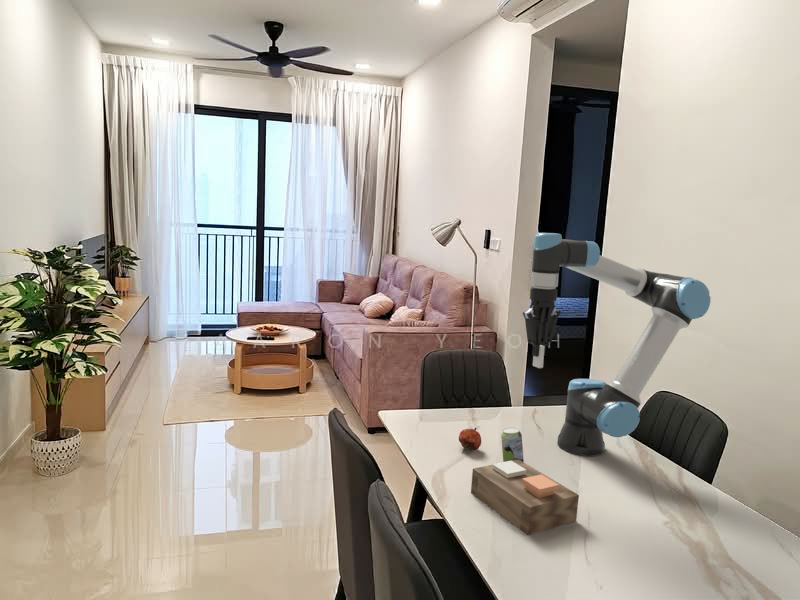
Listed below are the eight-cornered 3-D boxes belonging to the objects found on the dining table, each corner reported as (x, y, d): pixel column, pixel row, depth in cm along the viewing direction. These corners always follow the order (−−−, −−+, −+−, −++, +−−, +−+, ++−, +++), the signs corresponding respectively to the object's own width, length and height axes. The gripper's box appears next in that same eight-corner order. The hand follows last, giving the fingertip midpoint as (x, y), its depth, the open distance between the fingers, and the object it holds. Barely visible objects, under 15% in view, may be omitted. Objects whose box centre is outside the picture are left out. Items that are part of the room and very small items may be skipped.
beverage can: (523, 473, 177) (526, 435, 175) (498, 470, 179) (501, 432, 177) (523, 465, 183) (526, 427, 182) (499, 462, 185) (502, 424, 183)
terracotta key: (538, 503, 156) (541, 474, 155) (556, 514, 151) (559, 484, 150) (519, 508, 153) (522, 478, 152) (536, 519, 148) (539, 489, 147)
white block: (508, 487, 167) (511, 460, 166) (523, 497, 161) (526, 469, 160) (490, 491, 164) (492, 464, 163) (505, 502, 158) (507, 473, 157)
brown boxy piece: (516, 482, 171) (518, 459, 170) (576, 521, 152) (578, 495, 150) (470, 492, 163) (472, 468, 162) (527, 534, 144) (530, 507, 143)
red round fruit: (475, 462, 189) (491, 438, 194) (465, 447, 185) (482, 423, 190) (457, 457, 194) (473, 433, 199) (448, 442, 191) (464, 418, 196)
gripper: (550, 284, 179) (544, 361, 183) (518, 286, 172) (512, 365, 176) (570, 288, 173) (563, 367, 176) (536, 289, 166) (530, 372, 170)
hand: (537, 366), depth 176 cm, fingers closed
